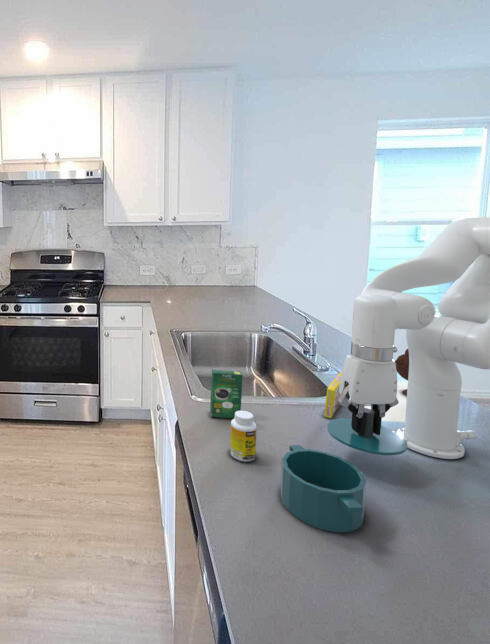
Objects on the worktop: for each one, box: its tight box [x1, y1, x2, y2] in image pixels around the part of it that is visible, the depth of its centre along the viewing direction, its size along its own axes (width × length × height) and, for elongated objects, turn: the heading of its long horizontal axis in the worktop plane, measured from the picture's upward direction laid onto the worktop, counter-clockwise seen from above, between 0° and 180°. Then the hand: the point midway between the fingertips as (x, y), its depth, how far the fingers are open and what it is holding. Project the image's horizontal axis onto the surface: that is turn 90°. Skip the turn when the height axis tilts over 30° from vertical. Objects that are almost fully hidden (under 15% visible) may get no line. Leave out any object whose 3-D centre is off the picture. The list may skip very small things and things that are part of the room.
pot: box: [280, 444, 367, 533], centre depth 78 cm, size 14×19×8 cm
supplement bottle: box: [229, 410, 257, 463], centre depth 94 cm, size 6×6×10 cm
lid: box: [326, 407, 408, 456], centre depth 90 cm, size 15×15×7 cm
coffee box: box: [209, 369, 244, 420], centre depth 113 cm, size 8×3×13 cm, turn 79°
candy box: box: [323, 372, 342, 419], centre depth 117 cm, size 16×2×8 cm, turn 137°
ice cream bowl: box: [394, 348, 409, 397], centre depth 124 cm, size 11×11×15 cm
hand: (365, 431), depth 90 cm, fingers closed on lid, 2 cm apart
